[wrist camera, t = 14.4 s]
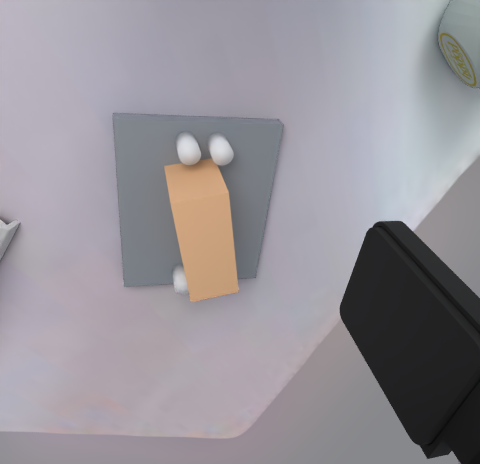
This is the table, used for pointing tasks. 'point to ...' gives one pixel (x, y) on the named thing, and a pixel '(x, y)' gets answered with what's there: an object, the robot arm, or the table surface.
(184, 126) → the base plate
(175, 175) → the block
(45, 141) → the table surface
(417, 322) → the robot arm
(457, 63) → the grey green vase
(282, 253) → the table surface
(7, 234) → the hinge
